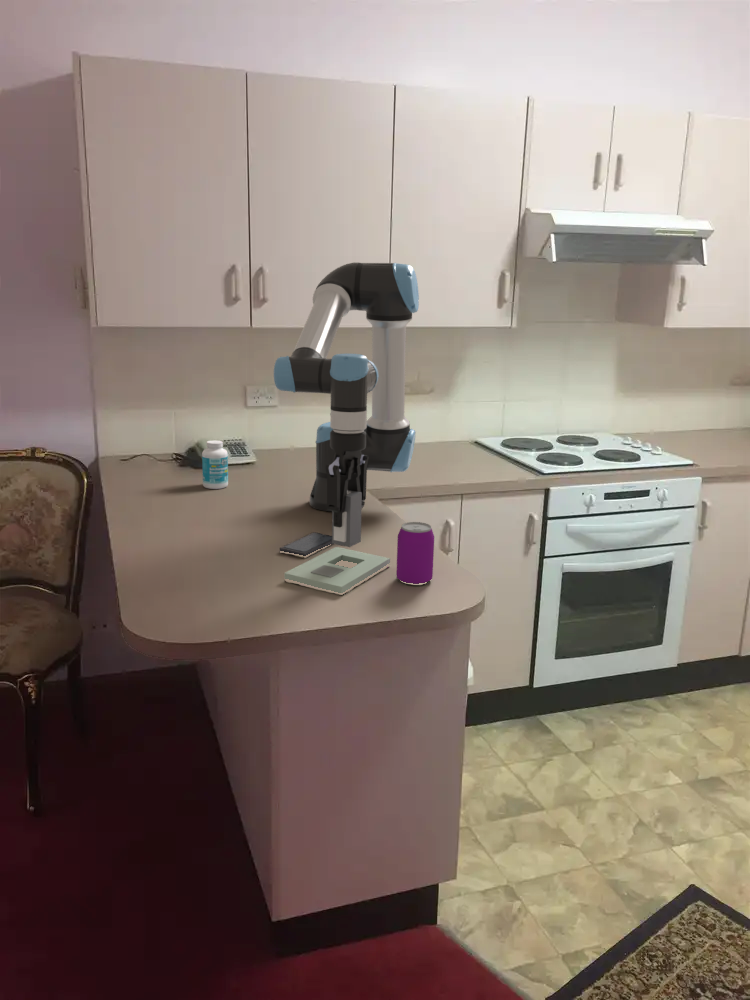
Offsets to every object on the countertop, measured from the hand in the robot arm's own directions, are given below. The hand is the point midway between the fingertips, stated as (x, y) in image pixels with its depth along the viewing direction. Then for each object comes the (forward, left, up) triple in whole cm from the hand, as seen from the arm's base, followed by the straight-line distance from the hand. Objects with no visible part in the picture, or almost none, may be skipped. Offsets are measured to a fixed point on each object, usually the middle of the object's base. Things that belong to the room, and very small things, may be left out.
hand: (346, 537), depth 174 cm
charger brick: (0, 0, -1) cm, 1 cm away
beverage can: (-3, +15, -8) cm, 17 cm away
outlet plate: (+3, 0, -8) cm, 8 cm away
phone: (-8, -15, -8) cm, 19 cm away
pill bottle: (-38, -69, -8) cm, 79 cm away
